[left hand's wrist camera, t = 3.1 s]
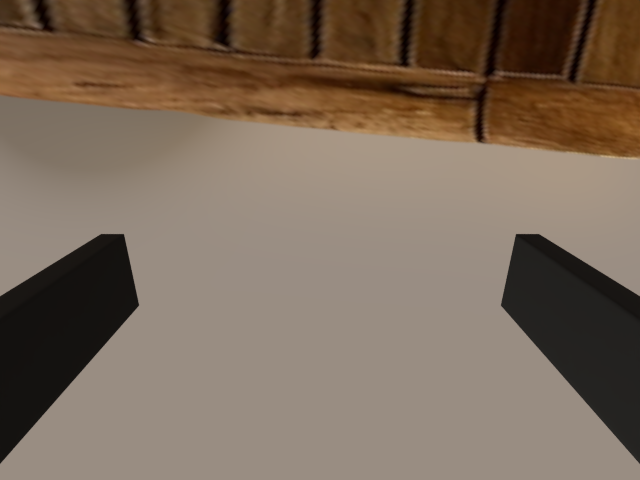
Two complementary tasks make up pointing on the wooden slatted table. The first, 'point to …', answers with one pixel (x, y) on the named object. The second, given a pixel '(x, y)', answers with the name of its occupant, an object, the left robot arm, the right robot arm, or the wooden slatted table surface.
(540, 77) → the wooden slatted table surface
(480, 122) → the wooden slatted table surface
